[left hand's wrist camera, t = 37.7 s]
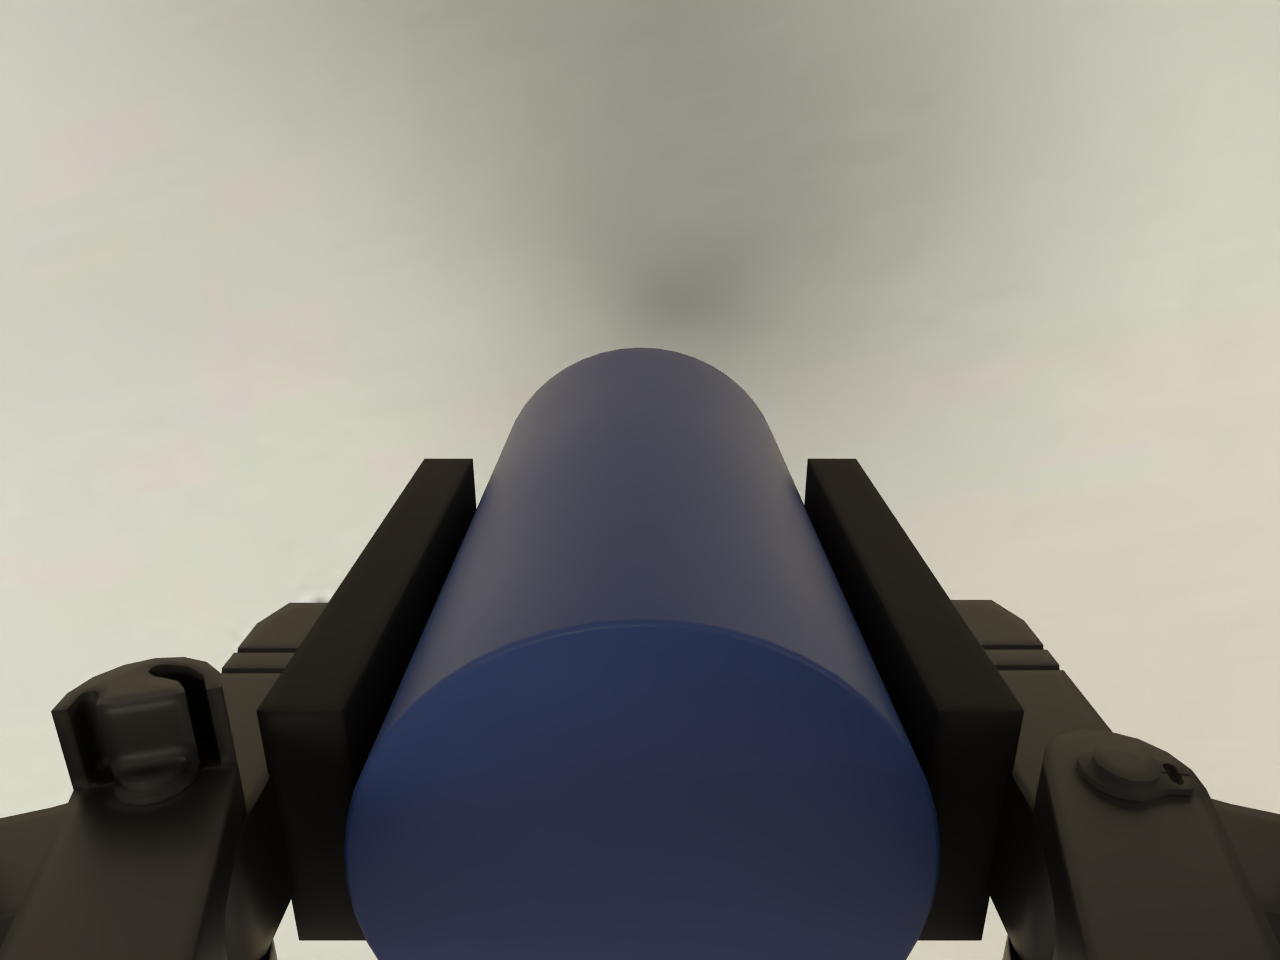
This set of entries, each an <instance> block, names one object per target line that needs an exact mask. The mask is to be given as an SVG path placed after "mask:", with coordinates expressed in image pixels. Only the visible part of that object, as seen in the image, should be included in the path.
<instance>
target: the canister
mask: <svg viewBox="0 0 1280 960" xmlns="http://www.w3.org/2000/svg"><path fill="white" fill-rule="evenodd" d="M344 861H345V872H346V882H347V887H348V891H349V895H350V899H351V902H352V906H353V910H354V914H355V916H356V918H357V921H358V923H359V925H360V927H361V930H362V932H363V934H364V937H365V939H366V941H367V943H368V944H369V946H370V948H371V949H372V951H373V952H374V954H375V955H376V957H377V959H378V960H906V959H907V957H908V956H909V954H910V952H911V950H912V949H913V947H914V945H915V944H916V942H917V940H918V938H919V937H920V935H921V933H922V930H923V928H924V925H925V923H926V920H927V918H928V915H929V913H930V910H931V908H932V904H933V899H934V895H935V890H936V886H937V881H938V877H939V861H940V836H939V827H938V819H937V812H936V809H935V805H934V802H933V798H932V795H931V792H930V788H929V785H928V782H927V780H926V777H925V775H924V773H923V771H922V768H921V766H920V764H919V762H918V759H917V757H916V755H915V753H914V750H913V748H912V746H911V744H910V741H909V739H908V737H907V735H906V733H905V730H904V728H903V726H902V724H901V721H900V719H899V717H898V715H897V712H896V710H895V708H894V706H893V703H892V701H891V699H890V697H889V694H888V692H887V690H886V688H885V685H884V683H883V681H882V679H881V677H880V674H879V672H878V670H877V668H876V665H875V663H874V661H873V659H872V656H871V654H870V652H869V650H868V647H867V645H866V643H865V641H864V638H863V636H862V634H861V632H860V629H859V627H858V625H857V623H856V620H855V618H854V616H853V614H852V612H851V609H850V607H849V605H848V603H847V600H846V598H845V596H844V594H843V591H842V589H841V587H840V585H839V582H838V580H837V578H836V576H835V573H834V571H833V569H832V567H831V564H830V562H829V560H828V558H827V555H826V553H825V551H824V549H823V547H822V544H821V542H820V540H819V538H818V535H817V533H816V531H815V529H814V526H813V524H812V522H811V520H810V517H809V515H808V513H807V511H806V508H805V506H804V504H803V502H802V499H801V497H800V495H799V493H798V491H797V488H796V486H795V484H794V482H793V479H792V477H791V475H790V473H789V470H788V468H787V466H786V464H785V461H784V459H783V457H782V455H781V452H780V450H779V448H778V446H777V443H776V441H775V439H774V437H773V434H772V432H771V430H770V428H769V426H768V424H767V422H766V420H765V418H764V416H763V414H762V413H761V411H760V410H759V408H758V407H757V405H756V404H755V402H754V401H753V400H752V399H751V398H750V397H749V396H748V394H747V393H746V392H745V391H744V390H743V389H742V388H741V387H740V386H739V385H738V384H736V383H735V382H734V381H733V380H732V379H731V378H729V377H728V376H727V375H725V374H724V373H722V372H721V371H719V370H717V369H716V368H714V367H713V366H711V365H709V364H707V363H705V362H702V361H700V360H698V359H696V358H693V357H690V356H687V355H684V354H681V353H678V352H673V351H667V350H662V349H652V348H630V349H619V350H614V351H609V352H605V353H600V354H597V355H594V356H592V357H589V358H586V359H583V360H581V361H579V362H577V363H575V364H573V365H571V366H569V367H567V368H565V369H564V370H562V371H561V372H560V373H558V374H557V375H555V376H554V377H552V378H551V379H550V380H549V381H547V382H546V383H545V384H544V385H543V386H542V387H541V388H540V389H539V390H538V391H536V393H535V394H534V395H533V396H532V397H531V399H530V400H529V401H528V402H527V404H526V405H525V406H524V408H523V409H522V411H521V413H520V414H519V416H518V417H517V419H516V421H515V423H514V425H513V427H512V430H511V432H510V434H509V437H508V439H507V441H506V443H505V446H504V448H503V450H502V453H501V455H500V457H499V459H498V462H497V464H496V466H495V469H494V471H493V473H492V475H491V478H490V480H489V482H488V484H487V487H486V489H485V491H484V494H483V496H482V498H481V500H480V503H479V505H478V507H477V510H476V512H475V514H474V516H473V519H472V521H471V523H470V526H469V528H468V530H467V532H466V535H465V537H464V539H463V542H462V544H461V546H460V548H459V551H458V553H457V555H456V558H455V560H454V562H453V564H452V567H451V569H450V571H449V574H448V576H447V578H446V580H445V583H444V585H443V587H442V590H441V592H440V594H439V596H438V599H437V601H436V603H435V606H434V608H433V610H432V612H431V615H430V617H429V619H428V622H427V624H426V626H425V628H424V631H423V633H422V635H421V638H420V640H419V642H418V644H417V647H416V649H415V651H414V654H413V656H412V658H411V660H410V663H409V665H408V667H407V670H406V672H405V674H404V676H403V679H402V681H401V683H400V686H399V688H398V690H397V692H396V695H395V697H394V699H393V702H392V704H391V706H390V708H389V711H388V713H387V715H386V718H385V720H384V722H383V724H382V727H381V729H380V731H379V734H378V736H377V738H376V740H375V743H374V745H373V747H372V750H371V752H370V754H369V756H368V759H367V761H366V763H365V766H364V768H363V770H362V772H361V775H360V777H359V779H358V782H357V784H356V786H355V788H354V791H353V795H352V799H351V803H350V807H349V811H348V815H347V819H346V827H345V840H344Z"/></svg>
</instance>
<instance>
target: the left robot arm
mask: <svg viewBox="0 0 1280 960" xmlns="http://www.w3.org/2000/svg"><path fill="white" fill-rule="evenodd" d="M804 506H805V508H806V511H807V513H808V515H809V517H810V520H811V522H812V524H813V526H814V529H815V531H816V533H817V535H818V538H819V540H820V542H821V544H822V547H823V549H824V551H825V553H826V555H827V558H828V560H829V562H830V564H831V567H832V569H833V571H834V573H835V576H836V578H837V580H838V582H839V585H840V587H841V589H842V591H843V594H844V596H845V598H846V600H847V603H848V605H849V607H850V609H851V612H852V614H853V616H854V618H855V620H856V623H857V625H858V627H859V629H860V632H861V634H862V636H863V638H864V641H865V643H866V645H867V647H868V650H869V652H870V654H871V656H872V659H873V661H874V663H875V665H876V668H877V670H878V672H879V674H880V677H881V679H882V681H883V683H884V685H885V688H886V690H887V692H888V694H889V697H890V699H891V701H892V703H893V706H894V708H895V710H896V712H897V715H898V717H899V719H900V721H901V724H902V726H903V728H904V730H905V733H906V735H907V737H908V739H909V741H910V744H911V746H912V748H913V750H914V753H915V755H916V757H917V759H918V762H919V764H920V766H921V768H922V771H923V773H924V775H925V777H926V780H927V782H928V785H929V788H930V792H931V795H932V798H933V802H934V805H935V809H936V812H937V819H938V827H939V836H940V861H939V877H938V881H937V886H936V890H935V895H934V899H933V904H932V908H931V910H930V913H929V915H928V918H927V920H926V923H925V925H924V928H923V930H922V933H921V935H920V937H919V938H918V940H982V935H983V929H984V924H985V918H986V913H987V908H988V902H989V897H991V899H992V901H993V903H994V905H995V908H996V910H997V912H998V914H999V916H1000V918H1001V921H1002V923H1003V925H1004V927H1005V929H1006V931H1007V934H1008V935H1007V940H1006V945H1005V950H1004V955H1003V960H1280V814H1276V813H1271V812H1266V811H1261V810H1257V809H1252V808H1247V807H1242V806H1237V805H1233V804H1229V803H1225V802H1221V801H1218V800H1214V799H1211V798H1210V796H1209V794H1208V792H1207V790H1206V788H1205V787H1204V786H1203V784H1202V783H1201V782H1200V780H1199V779H1198V778H1197V776H1196V775H1195V774H1194V773H1193V771H1192V770H1191V769H1190V768H1188V767H1187V766H1185V765H1184V764H1183V763H1181V762H1180V761H1179V760H1177V759H1176V758H1175V757H1173V756H1172V755H1170V754H1169V753H1168V752H1166V751H1163V750H1161V749H1159V748H1157V747H1155V746H1153V745H1150V744H1148V743H1146V742H1144V741H1142V740H1139V739H1136V738H1132V737H1128V736H1124V735H1120V734H1117V733H1113V732H1112V731H1111V730H1110V728H1109V727H1108V726H1107V725H1106V723H1105V722H1104V721H1103V720H1102V718H1101V717H1100V716H1099V715H1098V713H1097V712H1096V711H1095V710H1094V708H1093V707H1092V706H1091V705H1090V703H1089V702H1088V701H1087V699H1086V698H1085V697H1084V696H1083V694H1082V693H1081V692H1080V691H1079V689H1078V688H1077V687H1076V686H1075V684H1074V683H1073V682H1072V681H1071V679H1070V678H1069V677H1068V676H1067V674H1066V673H1065V672H1064V670H1060V669H1059V664H1058V663H1057V662H1056V660H1055V659H1054V658H1053V657H1052V655H1051V654H1050V653H1049V652H1048V650H1044V649H1043V644H1042V643H1041V641H1040V640H1039V639H1038V638H1037V636H1036V635H1035V634H1034V633H1033V631H1032V630H1031V629H1030V628H1029V626H1028V625H1027V624H1026V623H1025V621H1024V620H1022V619H1021V618H1019V617H1017V616H1016V615H1014V614H1013V613H1011V612H1009V611H1008V610H1006V609H1005V608H1003V607H1002V606H1000V605H998V604H997V603H995V602H994V601H992V600H950V599H949V597H948V596H947V594H946V593H945V591H944V590H943V588H942V587H941V585H940V584H939V582H938V581H937V579H936V578H935V576H934V575H933V573H932V572H931V570H930V569H929V567H928V566H927V564H926V563H925V561H924V560H923V558H922V557H921V555H920V554H919V552H918V551H917V549H916V548H915V546H914V545H913V543H912V542H911V540H910V539H909V537H908V536H907V534H906V533H905V531H904V530H903V528H902V527H901V525H900V524H899V522H898V521H897V519H896V518H895V517H894V515H893V514H892V512H891V511H890V509H889V508H888V506H887V505H886V503H885V502H884V500H883V499H882V497H881V496H880V494H879V493H878V491H877V490H876V488H875V487H874V485H873V484H872V482H871V481H870V479H869V478H868V476H867V475H866V473H865V472H864V470H863V469H862V467H861V466H860V464H859V463H858V461H857V460H856V459H808V463H807V477H806V491H805V505H804ZM475 512H476V498H475V484H474V470H473V459H424V460H423V462H422V463H421V465H420V466H419V468H418V469H417V471H416V472H415V474H414V475H413V477H412V478H411V480H410V481H409V483H408V484H407V486H406V487H405V489H404V490H403V492H402V493H401V495H400V496H399V498H398V499H397V501H396V502H395V504H394V505H393V507H392V508H391V510H390V511H389V513H388V514H387V516H386V517H385V519H384V520H383V522H382V523H381V525H380V526H379V528H378V529H377V531H376V532H375V534H374V535H373V537H372V538H371V540H370V541H369V543H368V544H367V546H366V547H365V549H364V550H363V552H362V553H361V555H360V556H359V558H358V559H357V561H356V562H355V564H354V565H353V567H352V568H351V570H350V571H349V573H348V574H347V576H346V577H345V579H344V580H343V582H342V583H341V585H340V586H339V588H338V589H337V591H336V592H335V594H334V595H333V597H332V598H331V600H330V601H329V603H289V604H287V605H286V606H284V607H282V608H281V609H279V610H278V611H276V612H275V613H273V614H271V615H270V616H268V617H267V618H265V619H264V620H262V621H260V622H259V623H257V624H256V626H255V627H254V628H253V629H252V631H251V632H250V633H249V635H248V636H247V637H246V638H245V640H244V641H243V642H242V643H241V645H240V646H239V647H238V653H234V654H233V655H232V656H231V657H230V659H229V660H228V661H227V662H226V664H225V665H224V666H223V668H222V673H220V672H219V671H217V670H216V669H215V668H213V667H212V666H211V665H210V664H208V663H207V662H204V661H200V660H195V659H190V658H186V657H175V658H154V659H150V660H145V661H141V662H136V663H131V664H127V665H123V666H120V667H118V668H115V669H113V670H110V671H108V672H105V673H103V674H100V675H98V676H95V677H93V678H91V679H90V680H88V681H86V682H85V683H83V684H82V685H80V686H78V687H77V688H75V689H74V690H72V691H70V692H69V693H67V694H66V695H65V697H64V698H63V699H62V700H61V701H60V702H59V703H58V704H57V705H56V706H55V708H54V709H53V710H52V711H51V713H52V716H53V720H54V723H55V727H56V730H57V734H58V737H59V741H60V744H61V748H62V751H63V755H64V758H65V762H66V765H67V769H68V772H69V776H70V779H71V782H72V786H73V789H74V791H73V793H72V795H71V798H70V800H69V802H68V803H67V804H63V805H59V806H56V807H52V808H47V809H43V810H38V811H33V812H28V813H24V814H19V815H14V816H9V817H5V818H0V960H277V955H276V950H275V945H274V940H273V938H274V935H275V933H276V931H277V929H278V927H279V924H280V922H281V920H282V918H283V916H284V913H285V911H286V909H287V907H288V905H289V903H290V900H291V899H292V905H293V910H294V915H295V921H296V926H297V931H298V937H299V940H366V939H365V937H364V934H363V932H362V930H361V927H360V925H359V923H358V921H357V918H356V916H355V914H354V910H353V906H352V902H351V899H350V895H349V891H348V887H347V882H346V872H345V861H344V840H345V827H346V819H347V815H348V811H349V807H350V803H351V799H352V795H353V791H354V788H355V786H356V784H357V782H358V779H359V777H360V775H361V772H362V770H363V768H364V766H365V763H366V761H367V759H368V756H369V754H370V752H371V750H372V747H373V745H374V743H375V740H376V738H377V736H378V734H379V731H380V729H381V727H382V724H383V722H384V720H385V718H386V715H387V713H388V711H389V708H390V706H391V704H392V702H393V699H394V697H395V695H396V692H397V690H398V688H399V686H400V683H401V681H402V679H403V676H404V674H405V672H406V670H407V667H408V665H409V663H410V660H411V658H412V656H413V654H414V651H415V649H416V647H417V644H418V642H419V640H420V638H421V635H422V633H423V631H424V628H425V626H426V624H427V622H428V619H429V617H430V615H431V612H432V610H433V608H434V606H435V603H436V601H437V599H438V596H439V594H440V592H441V590H442V587H443V585H444V583H445V580H446V578H447V576H448V574H449V571H450V569H451V567H452V564H453V562H454V560H455V558H456V555H457V553H458V551H459V548H460V546H461V544H462V542H463V539H464V537H465V535H466V532H467V530H468V528H469V526H470V523H471V521H472V519H473V516H474V514H475Z"/></svg>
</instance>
